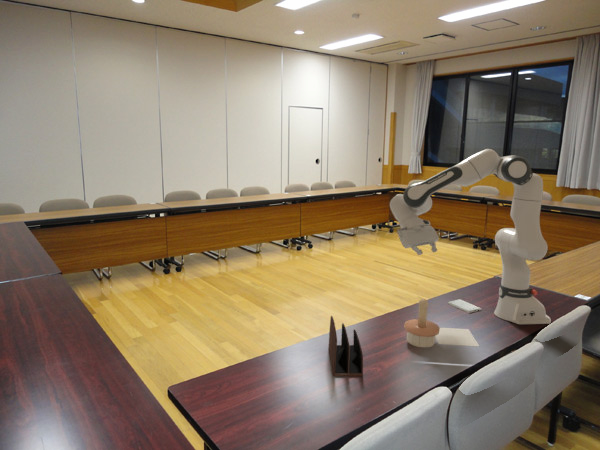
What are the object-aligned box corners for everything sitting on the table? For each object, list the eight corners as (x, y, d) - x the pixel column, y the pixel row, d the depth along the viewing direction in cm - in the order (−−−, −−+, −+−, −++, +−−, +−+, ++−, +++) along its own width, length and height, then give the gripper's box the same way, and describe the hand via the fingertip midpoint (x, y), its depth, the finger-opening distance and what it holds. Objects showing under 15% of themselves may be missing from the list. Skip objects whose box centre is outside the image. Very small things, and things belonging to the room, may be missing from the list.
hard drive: (448, 301, 203) (468, 310, 192) (460, 298, 206) (481, 307, 195) (447, 305, 203) (468, 314, 192) (460, 302, 207) (481, 311, 196)
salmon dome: (435, 323, 168) (437, 294, 165) (442, 337, 155) (445, 306, 153) (402, 321, 169) (404, 292, 167) (406, 335, 156) (408, 304, 154)
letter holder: (332, 376, 139) (334, 337, 136) (328, 347, 158) (329, 312, 155) (363, 376, 139) (364, 337, 136) (354, 348, 158) (356, 312, 156)
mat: (468, 330, 174) (468, 329, 174) (479, 347, 159) (479, 346, 159) (431, 328, 175) (431, 327, 175) (438, 345, 161) (438, 343, 161)
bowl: (431, 337, 167) (432, 324, 166) (436, 349, 157) (437, 335, 156) (405, 335, 169) (406, 322, 168) (408, 347, 159) (409, 334, 158)
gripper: (399, 224, 180) (415, 252, 174) (431, 220, 191) (447, 246, 185) (391, 233, 184) (407, 260, 178) (423, 228, 195) (438, 253, 189)
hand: (428, 252), depth 182 cm, fingers open, 8 cm apart
